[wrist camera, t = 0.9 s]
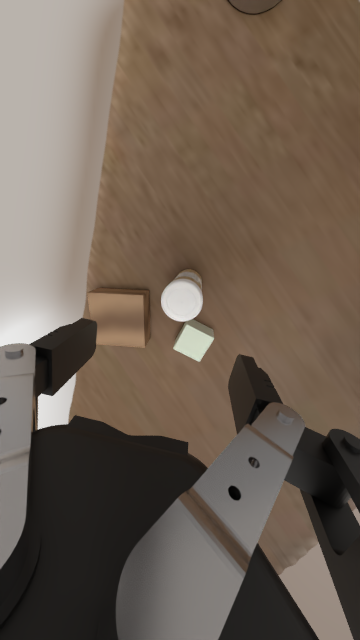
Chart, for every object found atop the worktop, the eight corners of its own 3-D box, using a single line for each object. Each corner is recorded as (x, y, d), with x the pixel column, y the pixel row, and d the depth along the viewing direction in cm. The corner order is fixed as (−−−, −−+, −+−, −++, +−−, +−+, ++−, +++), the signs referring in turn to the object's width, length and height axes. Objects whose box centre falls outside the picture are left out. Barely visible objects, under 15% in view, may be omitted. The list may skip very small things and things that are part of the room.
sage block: (188, 316, 37) (186, 324, 33) (212, 329, 37) (214, 338, 33) (175, 338, 38) (173, 348, 35) (199, 350, 39) (199, 361, 35)
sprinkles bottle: (196, 299, 35) (193, 328, 23) (171, 290, 35) (154, 314, 23) (206, 274, 34) (209, 290, 21) (180, 264, 34) (168, 274, 21)
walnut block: (98, 287, 36) (87, 292, 33) (149, 290, 36) (143, 295, 32) (103, 334, 39) (93, 343, 36) (150, 337, 39) (144, 347, 35)
